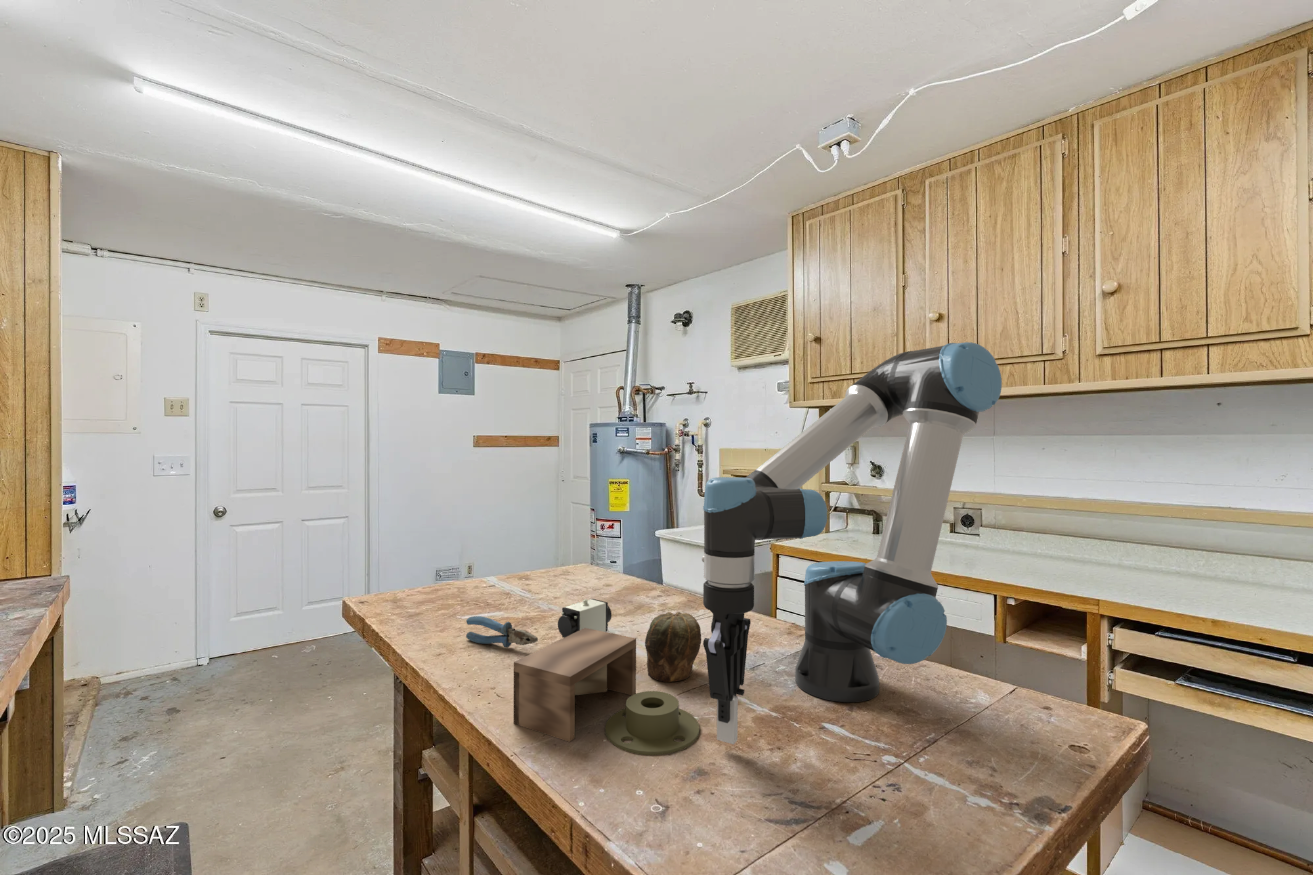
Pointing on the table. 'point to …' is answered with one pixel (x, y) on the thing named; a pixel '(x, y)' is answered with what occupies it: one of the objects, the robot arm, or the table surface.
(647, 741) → the flange
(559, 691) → the shelf
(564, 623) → the pneumatic valve
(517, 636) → the pliers
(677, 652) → the green ball cactus
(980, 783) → the table surface
